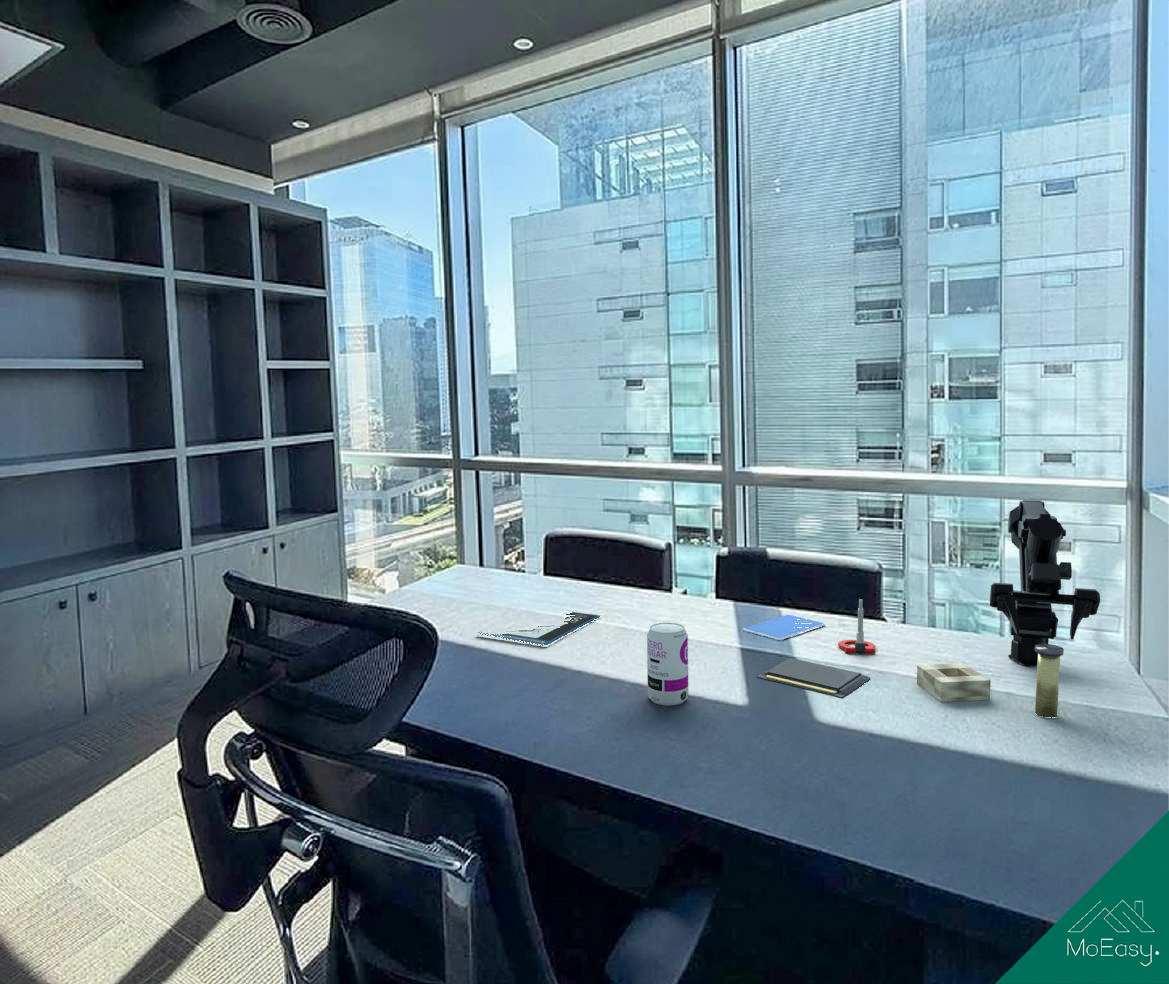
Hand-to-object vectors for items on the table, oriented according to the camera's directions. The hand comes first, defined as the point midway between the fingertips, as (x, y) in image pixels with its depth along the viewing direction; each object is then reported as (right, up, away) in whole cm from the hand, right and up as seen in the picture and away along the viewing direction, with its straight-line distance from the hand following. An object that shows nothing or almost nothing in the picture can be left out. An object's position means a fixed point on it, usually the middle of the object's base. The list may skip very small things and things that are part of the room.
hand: (1044, 636), depth 153 cm
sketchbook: (-102, -9, +60) cm, 118 cm away
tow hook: (-24, -10, +36) cm, 44 cm away
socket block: (-14, -13, +8) cm, 21 cm away
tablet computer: (-37, -9, +53) cm, 66 cm away
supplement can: (-72, -14, +8) cm, 74 cm away
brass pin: (-3, -14, -5) cm, 15 cm away
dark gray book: (-40, -13, +17) cm, 45 cm away
